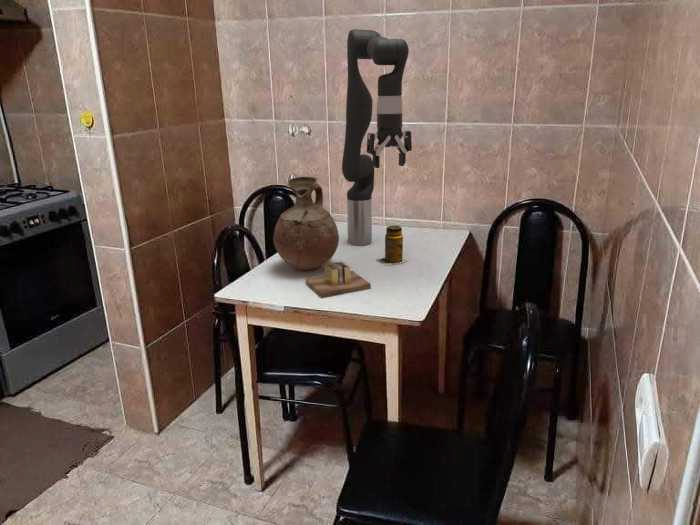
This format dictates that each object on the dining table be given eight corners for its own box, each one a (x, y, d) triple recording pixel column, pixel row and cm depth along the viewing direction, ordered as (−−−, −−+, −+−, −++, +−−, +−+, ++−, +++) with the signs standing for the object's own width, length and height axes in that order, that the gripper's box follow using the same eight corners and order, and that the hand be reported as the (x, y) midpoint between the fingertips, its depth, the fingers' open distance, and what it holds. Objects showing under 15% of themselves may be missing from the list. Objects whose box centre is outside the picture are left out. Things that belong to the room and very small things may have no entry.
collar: (324, 279, 164) (324, 264, 162) (342, 276, 166) (342, 261, 165) (332, 286, 159) (332, 270, 157) (350, 282, 161) (350, 267, 159)
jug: (263, 274, 174) (256, 183, 164) (292, 254, 193) (288, 171, 183) (325, 281, 167) (321, 186, 157) (348, 260, 186) (347, 174, 176)
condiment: (407, 261, 184) (408, 227, 180) (388, 266, 179) (388, 231, 175) (394, 256, 190) (394, 223, 186) (375, 260, 185) (375, 227, 181)
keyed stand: (305, 283, 166) (304, 263, 163) (352, 275, 172) (352, 255, 170) (321, 297, 154) (320, 276, 152) (370, 288, 161) (370, 268, 158)
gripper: (374, 113, 152) (374, 170, 157) (416, 111, 158) (415, 166, 163) (362, 112, 158) (363, 167, 164) (404, 110, 164) (403, 163, 169)
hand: (389, 166), depth 163 cm, fingers open, 8 cm apart
